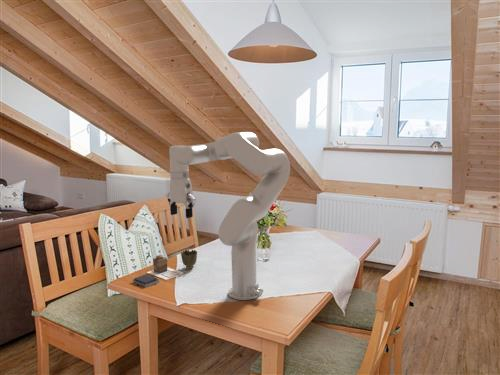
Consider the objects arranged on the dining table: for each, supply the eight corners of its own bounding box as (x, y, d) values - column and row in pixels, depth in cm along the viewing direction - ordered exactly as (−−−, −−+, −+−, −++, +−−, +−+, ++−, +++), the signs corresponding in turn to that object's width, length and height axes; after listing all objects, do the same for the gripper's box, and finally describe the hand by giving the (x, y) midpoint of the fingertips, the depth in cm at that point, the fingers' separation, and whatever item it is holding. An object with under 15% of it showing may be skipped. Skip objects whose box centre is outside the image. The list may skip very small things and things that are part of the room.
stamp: (167, 270, 192) (166, 255, 191) (159, 273, 189) (158, 258, 188) (161, 268, 195) (160, 254, 194) (153, 271, 192) (152, 256, 191)
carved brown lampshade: (199, 265, 199) (198, 249, 198) (195, 271, 192) (195, 254, 190) (183, 265, 200) (183, 249, 198) (179, 271, 192) (179, 254, 191)
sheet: (184, 273, 189) (184, 272, 189) (166, 280, 182) (166, 279, 182) (164, 266, 198) (164, 266, 198) (146, 272, 191) (146, 272, 191)
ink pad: (159, 282, 179) (158, 278, 179) (145, 287, 174) (145, 283, 174) (146, 277, 185) (146, 273, 185) (132, 282, 180) (132, 278, 180)
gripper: (200, 176, 171) (202, 217, 174) (173, 173, 183) (175, 211, 185) (186, 178, 166) (188, 220, 169) (159, 175, 177) (161, 214, 180)
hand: (181, 215), depth 177 cm, fingers open, 9 cm apart
